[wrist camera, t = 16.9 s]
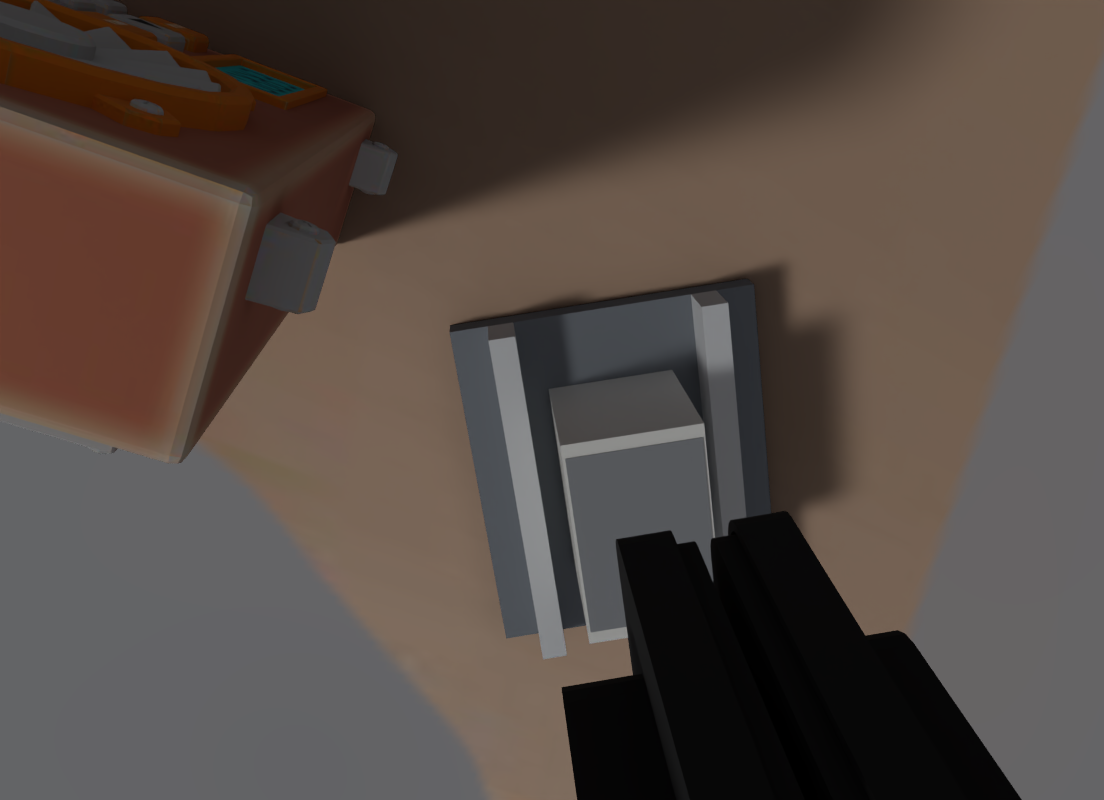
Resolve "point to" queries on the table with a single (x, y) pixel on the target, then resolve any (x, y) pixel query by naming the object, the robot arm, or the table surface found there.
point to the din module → (628, 480)
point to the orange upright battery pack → (155, 219)
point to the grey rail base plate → (588, 356)
